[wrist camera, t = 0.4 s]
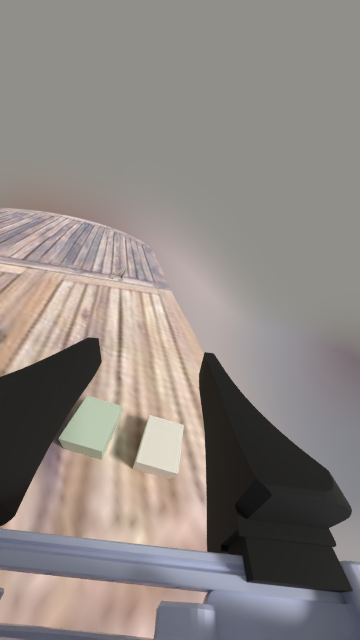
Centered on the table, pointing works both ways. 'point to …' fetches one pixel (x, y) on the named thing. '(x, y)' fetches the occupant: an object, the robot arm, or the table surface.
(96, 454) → the block sage
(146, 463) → the block cream
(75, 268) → the table surface
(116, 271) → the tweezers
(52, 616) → the table surface
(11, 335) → the table surface
